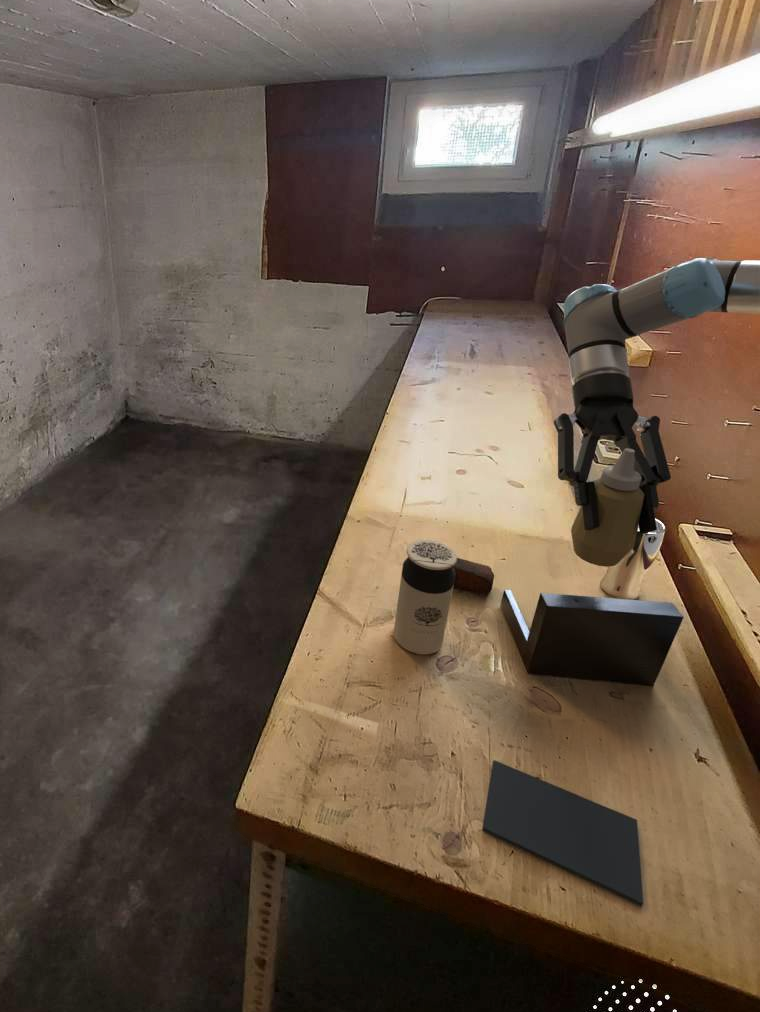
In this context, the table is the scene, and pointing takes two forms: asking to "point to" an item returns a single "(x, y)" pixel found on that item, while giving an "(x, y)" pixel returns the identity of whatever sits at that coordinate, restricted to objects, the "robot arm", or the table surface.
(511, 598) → the black angular stand
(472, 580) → the brick
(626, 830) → the mat
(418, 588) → the travel mug
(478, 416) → the table surface
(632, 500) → the squeeze bottle
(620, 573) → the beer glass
